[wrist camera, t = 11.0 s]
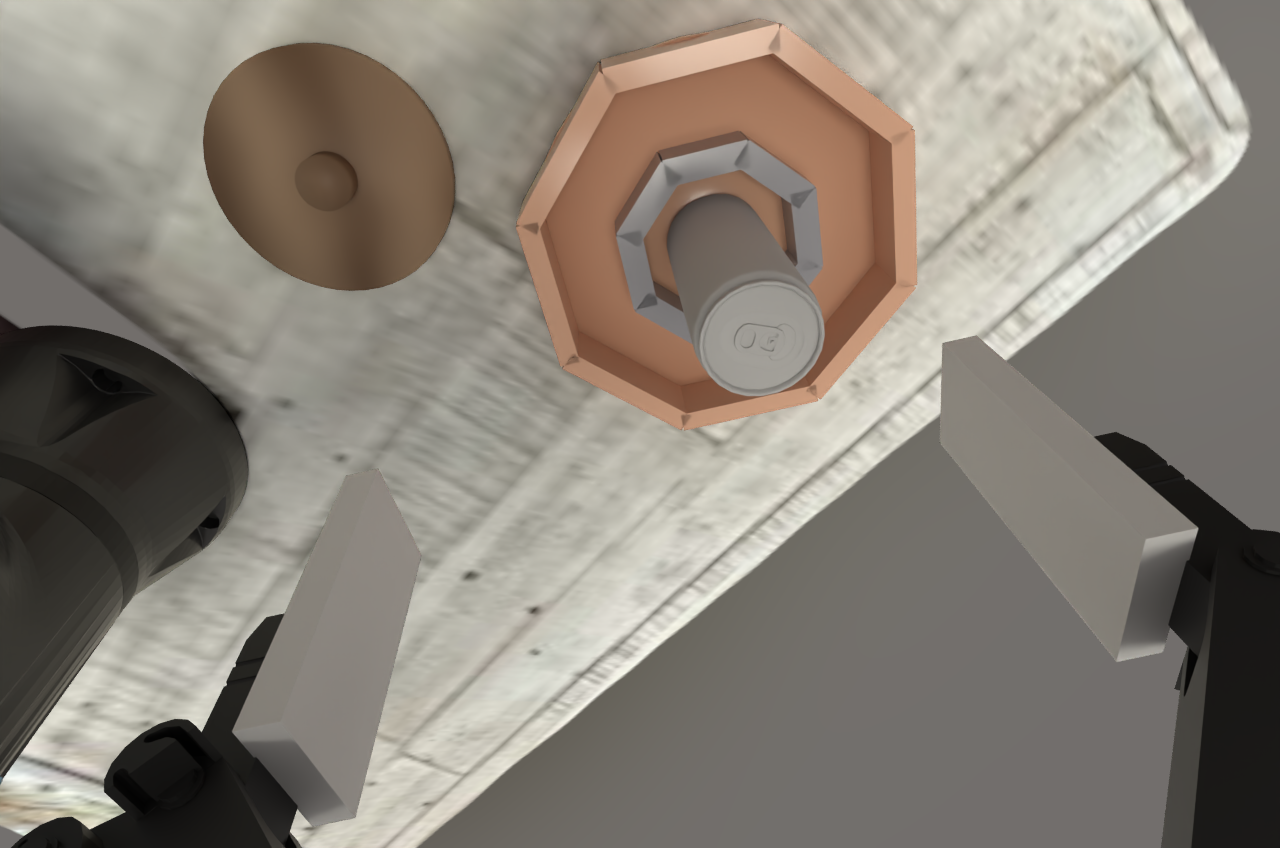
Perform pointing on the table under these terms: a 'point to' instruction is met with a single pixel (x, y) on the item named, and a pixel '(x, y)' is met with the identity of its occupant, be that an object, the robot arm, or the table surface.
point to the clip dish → (705, 165)
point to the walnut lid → (329, 166)
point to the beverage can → (742, 298)
